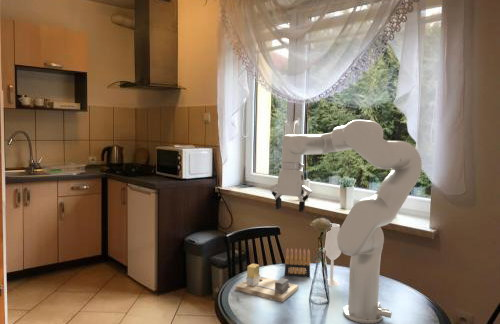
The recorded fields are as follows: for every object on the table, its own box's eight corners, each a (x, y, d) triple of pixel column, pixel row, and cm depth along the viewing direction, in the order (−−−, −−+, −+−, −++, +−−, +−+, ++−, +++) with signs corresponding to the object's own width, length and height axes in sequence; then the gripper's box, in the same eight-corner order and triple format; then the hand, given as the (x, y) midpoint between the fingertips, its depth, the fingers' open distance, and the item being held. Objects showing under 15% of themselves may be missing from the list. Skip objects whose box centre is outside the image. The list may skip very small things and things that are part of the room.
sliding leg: (263, 279, 157) (264, 262, 157) (253, 286, 150) (253, 268, 149) (257, 277, 159) (257, 260, 158) (246, 284, 151) (246, 266, 151)
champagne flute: (336, 279, 164) (338, 222, 162) (342, 286, 157) (344, 226, 155) (320, 280, 163) (322, 223, 161) (326, 286, 156) (328, 227, 154)
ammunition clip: (309, 275, 168) (310, 248, 167) (310, 277, 166) (310, 249, 165) (284, 274, 169) (285, 246, 168) (284, 276, 167) (285, 248, 166)
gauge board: (298, 288, 153) (298, 275, 153) (282, 301, 141) (283, 286, 140) (253, 278, 163) (253, 265, 162) (235, 289, 151) (235, 275, 150)
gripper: (315, 167, 152) (314, 211, 153) (275, 164, 160) (274, 206, 162) (308, 168, 145) (306, 214, 147) (266, 165, 154) (265, 209, 155)
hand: (289, 210), depth 154 cm, fingers open, 9 cm apart
